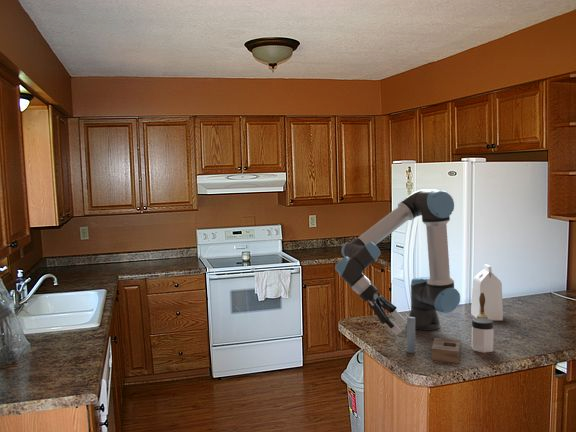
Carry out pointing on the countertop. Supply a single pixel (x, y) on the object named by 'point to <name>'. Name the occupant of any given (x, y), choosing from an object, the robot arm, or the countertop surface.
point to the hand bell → (482, 306)
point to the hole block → (446, 350)
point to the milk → (487, 294)
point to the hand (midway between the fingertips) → (401, 328)
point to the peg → (411, 334)
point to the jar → (482, 335)
